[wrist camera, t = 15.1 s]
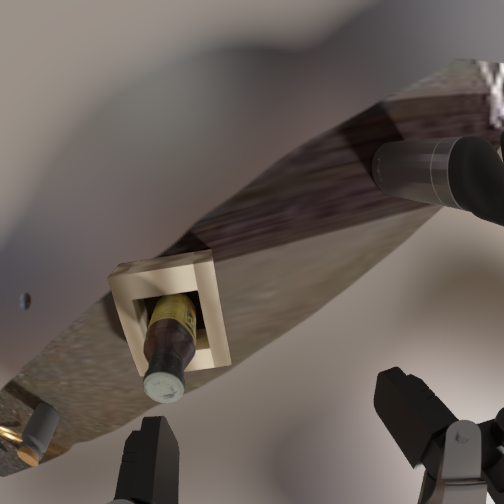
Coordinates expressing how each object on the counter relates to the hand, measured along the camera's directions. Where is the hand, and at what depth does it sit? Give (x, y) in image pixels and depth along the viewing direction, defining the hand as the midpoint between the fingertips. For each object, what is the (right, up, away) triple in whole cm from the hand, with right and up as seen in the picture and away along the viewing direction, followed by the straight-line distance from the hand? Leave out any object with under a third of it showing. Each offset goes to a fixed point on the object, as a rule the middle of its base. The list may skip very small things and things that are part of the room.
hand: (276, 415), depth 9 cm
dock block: (-13, -2, +34) cm, 36 cm away
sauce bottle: (-12, -2, +34) cm, 37 cm away
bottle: (-45, -29, +36) cm, 65 cm away
